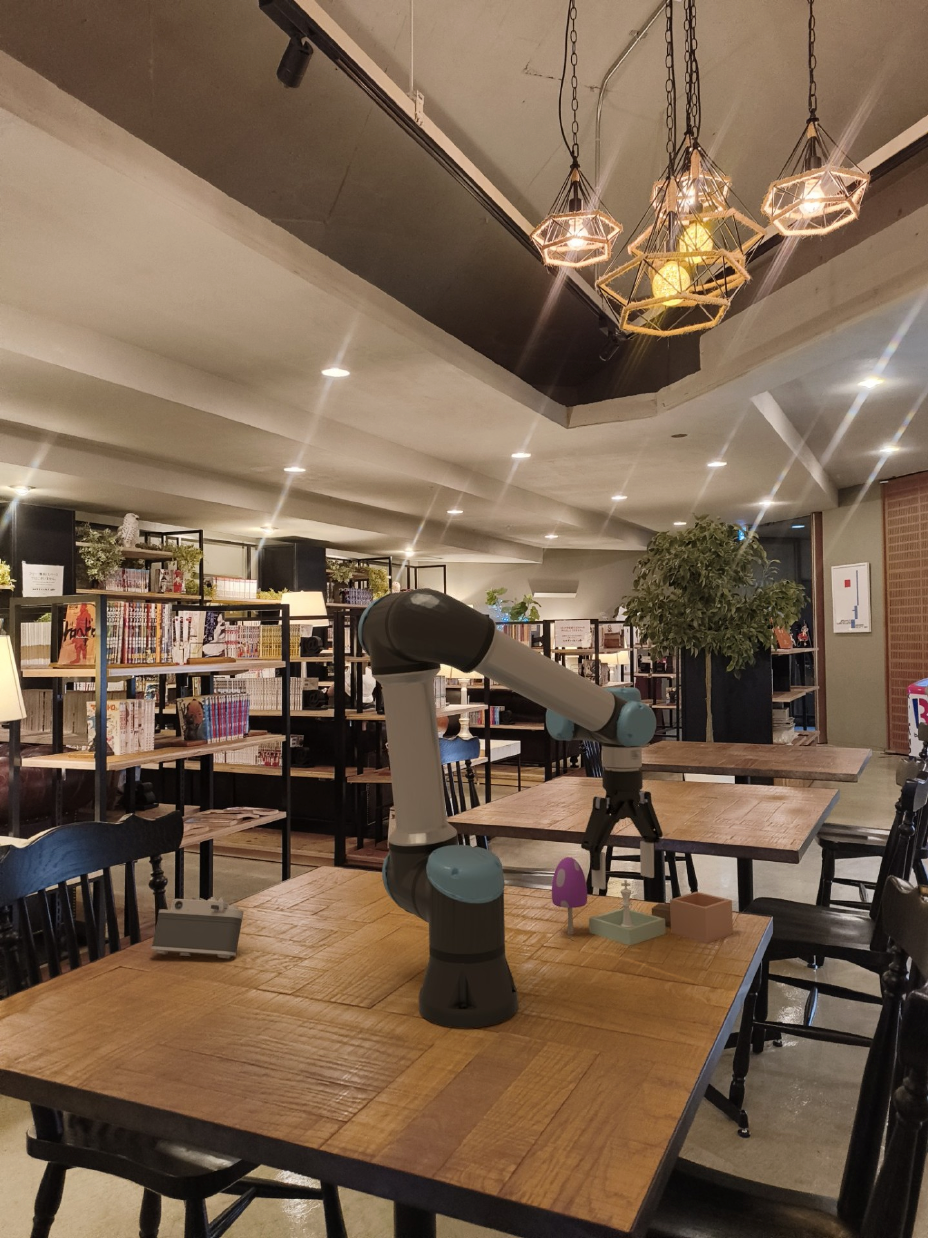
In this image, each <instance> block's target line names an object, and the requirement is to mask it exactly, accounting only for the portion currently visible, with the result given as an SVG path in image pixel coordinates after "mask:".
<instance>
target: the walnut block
mask: <svg viewBox="0 0 928 1238" xmlns="http://www.w3.org/2000/svg"><path fill="white" fill-rule="evenodd" d="M651 915H653V916H656V917H660V918H664V919H665V928H671V916H670V903H669V904H668V903H660V902H659V903H657V904H655V905H654V906H653V907H651Z"/></svg>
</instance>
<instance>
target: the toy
mask: <svg viewBox="0 0 928 1238" xmlns="http://www.w3.org/2000/svg"><path fill="white" fill-rule="evenodd" d="M551 882H552V883H551V900H552V904H553V905H554V906H556V907H559V908H566V909H567V934H568V935H569V936H570V935H571V936H572V935H574V932H575V931H574V919H573V909H574V908H575V909H576V908H581V907H584V906H586V905H587V904H588V888H587V880H586V875H585V873H584V871H583V868H582V867H581V865H580V863H579V862H578V861H577V860H576V859H575V858H573V857H572V856H571V857H569V856H567V857H563V858H562V859H561V860H560V861H559V862H558V864H557V866H556V868H555V870H554V873H553V876H552V881H551ZM569 939H571V938H570V937H569Z"/></svg>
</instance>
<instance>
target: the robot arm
mask: <svg viewBox="0 0 928 1238" xmlns="http://www.w3.org/2000/svg"><path fill="white" fill-rule="evenodd" d="M357 630H358V631H357V633H358V634H357V636H358V640H359V641H358V642H359V644H360V646H361V647H362V650H363V651H364V652H365V654H366V655H367V656H368V657H369V661H370V669H371V677H372V678H373V680H376V681H377V682H378V683H379V684H380V685H381V688H382V697H383V707H384V716H385V717H384V718H385V726H386V727H385V728H386V729H385V730H386V736H387V737H386V738H387V747H388V748H387V749H388V756H389V757H388V758H389V759H388V761H389V766H390V768H389V770H390V778H391V779H390V781H391V790H392V798H393V808H394V809H393V810H394V817H395V819H394V820H395V827H394V828H395V829H394V830H393V831H392V832H391V834H390V835H389V836H388V839H387V842H388V853H387V856H385V858H384V860H383V863H382V870H381V877H382V882H383V886H384V889H385V890H386V891H385V892H386V893H387V894H388V896H389V898H390V899H392V901H393V902H394V903H395V904H396V905H397V906H398V907H399V908H400V909H402V910H404V911H405V912H406V913H409V914H412V915H414V916H415V917H417V918H419V919H421V920H422V921H424V922H426V923H428V941H429V942H428V945H429V947H428V951H429V957H428V962H427V966H426V969H425V972H424V976H423V981H422V984H421V985H422V986H421V987H420V990H419V993H418V1011H419V1014H420V1015H421V1016H422V1018H424V1019H425V1020H426V1021H429V1022H430V1023H432V1024H437V1025H441V1026H444V1027H448V1028H449V1027H450V1028H458V1029H459V1028H461V1029H470V1028H471V1029H472V1028H481V1027H482V1028H483V1027H489V1026H493V1025H496V1024H499V1023H503V1022H506V1021H507V1020H509V1019H511V1018H512V1017H513V1016H515V1014H516V1013H517V1012H518V1010H519V999H518V998H519V997H518V996H519V994H518V989H517V986H516V984H515V981H514V977H513V974H512V972H511V969H510V965H509V963H508V959H507V957H506V956H507V955H506V944H505V943H506V935H505V933H506V932H505V931H506V929H505V885H506V884H505V883H506V882H505V877H504V870H503V869H504V868H503V863H502V861H501V859H500V857H499V856H498V855H496V853H494V852H492V851H490V850H488V849H486V848H483V847H479V846H476V847H474V846H472V845H466V844H459V838H458V831H457V828H455V827H454V826H453V825H452V824H450V823H449V822H448V819H447V809H446V799H445V790H444V789H445V788H444V780H443V769H442V768H443V767H442V760H441V759H442V758H441V748H440V739H439V729H438V719H437V718H438V717H437V706H436V699H435V698H436V697H435V686H434V679H435V677H437V675H438V674H439V673H440V671H441V669H442V667H441V665H445V666H448V667H452V668H453V669H456V670H458V671H460V672H461V673H463V674H470V673H471V674H472V672H476V673H477V674H479V675H482V676H483V677H486V678H487V679H489V680H492V681H493V682H495V683H497V684H499V685H501V686H503V687H504V688H507V689H509V690H510V691H513V692H515V693H517V694H519V695H520V696H522V697H524V698H527V699H528V700H530V701H532V702H533V703H535V704H538V705H539V706H542V707H543V708H546V712H545V724H546V725H545V727H546V729H547V732H548V734H549V735H550V736H551V737H552V738H553V739H554V740H556V741H566V742H571V741H587V742H595V743H601V766H603V767H604V769H603V770H602V774H601V775H602V780H601V783H602V784H601V785H602V786H601V787H602V789H604V790H605V797H601V796H593V798H592V809H591V812H590V816H589V818H588V822H587V825H586V827H585V831H584V834H583V837H582V840H581V844H580V848H581V849H582V850H585V851H588V852H589V868H590V870H591V887H592V888H597V889H600V890H606V885H607V884H606V881H607V880H606V852H603V850H604V847H605V845H606V844H607V842H608V840H609V838H610V836H611V834H612V832H613V829H614V828H615V825H616V824H617V823H619V822H620V821H621V820H625V819H626V818H628V819H630V820H631V822H632V824H633V825H634V827H635V828H636V830H637V831H638V833H639V834H640V836H641V837H642V840H641V841H640V842H639V849H640V851H639V852H640V853H639V855H640V856H639V857H640V876H642V877H646V878H649V879H653V878H655V857H656V843H657V844H659V843H660V841H661V838H662V837H663V833H664V832H663V831H662V828H661V826H660V825H661V824H660V823H659V820H658V816H657V814H656V811H655V808H654V805H653V803H652V800H653V799H652V792H650V791H645V790H642V789H643V788H644V787H643V783H644V782H643V781H644V780H643V779H644V778H643V771H642V770H641V769H640V768H641V767H642V766H643V753H642V752H643V749H642V746H645V745H647V744H648V743H649V742H651V740H652V739H653V738H654V735H655V732H656V729H657V718H656V714H655V712H654V711H653V709H652V708H651V707H650V706H649V705H648V704H646V703H644V702H642V696H641V691H640V689H638V688H637V687H630V686H629V687H624V686H616V687H614V686H612V687H611V686H610V687H609V686H608V687H604V688H603V687H602V686H599V685H598V684H596V683H594V682H593V681H591V680H589V679H588V678H585V677H584V676H581V675H580V674H578V673H577V672H575V671H573V670H571V669H569V668H567V667H566V666H564V665H562V664H560V663H559V662H557V661H555V660H553V659H551V658H549V657H548V656H546V655H544V654H542V653H541V652H539V651H537V650H535V649H533V648H531V647H530V646H528V645H526V644H525V643H523V642H520V640H517V639H516V638H513V637H512V636H510V635H509V634H507V633H505V632H503V631H501V630H499V629H498V628H497V623H496V622H495V620H494V619H492V618H491V617H489V616H488V615H486V614H484V613H482V612H481V611H478V610H476V609H475V608H474V607H471V606H470V605H468V604H466V603H464V602H462V601H460V600H458V599H457V598H455V597H453V596H451V595H449V594H447V593H444V592H442V591H439V590H436V589H431V588H416V589H412V590H407V591H399V592H396V591H395V592H392V593H387V594H385V595H383V596H380V597H378V598H376V599H375V600H373V601H371V603H369V604H368V605H367V607H366V608H365V609H364V611H363V612H362V614H361V616H360V618H359V622H358V627H357Z"/></svg>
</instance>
